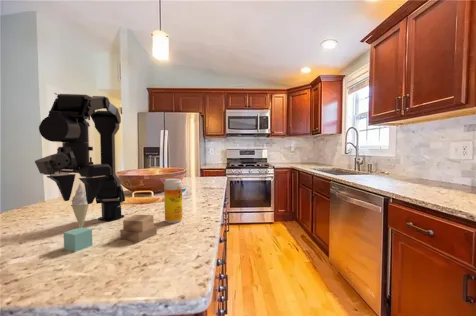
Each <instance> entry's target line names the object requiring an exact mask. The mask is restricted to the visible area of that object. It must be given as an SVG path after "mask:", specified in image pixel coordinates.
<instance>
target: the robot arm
mask: <svg viewBox="0 0 476 316" xmlns="http://www.w3.org/2000/svg"><path fill="white" fill-rule="evenodd" d="M56 97H57V98H55V100H54V101H53V104H52V106H51V108H50V110H48V115H47V116H46V117H45V118H43V119H42V120H41V121H40V123H39V126H38V130H39V134H40V135H41V137H42V138H43V139H45V140H46V141H48V142H53V143H55V142H56V143H61V144H62V146H58V147H57V152H56V153H54V154H49V155H47V156H44V157H42V158H39V159H35V160H34V164H35V165H36V167H37V170H38V171H39V174H41V175H45V176H46V178H47V179H50V180H52V181H54V182H55V184H56V186H57V187H58V190H59V192H60V194H61V197H62V199H63V201H64V202H68V201H70V199H71V196H72V192H73V187H74V183H75V179H76V174H79V176H80V177H79V178H78V179H79V180H80V182H82V183H83V184H84V190H85V194H86V199H87V204H89V205H91V204H93V203H94V201H95V202H96V204H101V206H100V207H101V216H100V217H97V219H98V220H99V221H106V222H111V221H115V220H118V219H121V218H124V217H125V215H124V214H122V202H125V201H126V193H125V191H124V188H123V187H122V184H121V180H120V178H119V177H118V176H117V174H116V138H115V137H116V134H117V133H118V131H119V130H120V124H121V122H122V119H121V118H122V117H121V114H120V111H119V109H118V107H117V106H115V105H114V104H113V103H112V102H110V100H109V98H108V97H107V96H105V95H103V96H102V95H92V96H90V95H87V94H75V93H73V94H72V93H58V94H57V95H56ZM102 109H103V110H102ZM105 109H106V110H105ZM89 117H90V118H91V120H92V122H93V123H94V124H93V125H94V128H95V129H96V131H97V133H98V134H99V137H100V138H99V141H100V145H99V146H100V163H94V162H93V161H90V151H94V147H93V146H90V143H89V141H90V140H89V138H90V137H89V128H90V127H91V125H90V123H89V122H88V121H87V120H88V119H89Z"/></svg>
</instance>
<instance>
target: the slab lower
mask: <svg viewBox="0 0 476 316" xmlns="http://www.w3.org/2000/svg"><path fill="white" fill-rule="evenodd" d="M157 229H158V228H157V225H156V224H154V225H153V226H151V227H149V228H148V229H146V230H145V231H143V232H138V231H123V228H122V229H120V230H119V232H120V236H119V237H120V240H124V241H129V242H135V243H141V242H143V241H145V240H148V239H149V238H152V237H153V236H156V235H157V234H158V233H157Z"/></svg>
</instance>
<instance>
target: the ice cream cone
mask: <svg viewBox="0 0 476 316" xmlns="http://www.w3.org/2000/svg"><path fill="white" fill-rule="evenodd" d="M71 203H72V204H70V206H71V207H72V210H73V213H74V216H75V219H76V221H77V224H78V226H79V227H78V228H80V227H82V228H84V223H85V220H86V216H87V213H88V209H89V206H90V204H87V199H86V192H85V188H84V187H83V186H82V183H79V184H78V187H77V189H76V190H75V195H73V196H72V198H71Z"/></svg>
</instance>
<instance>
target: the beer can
mask: <svg viewBox="0 0 476 316" xmlns="http://www.w3.org/2000/svg"><path fill="white" fill-rule="evenodd" d="M163 187H164V189H163V190H164V191H163V192H164V198H163V199H164V221H166V223H168V224H177V223H180V222H181V221H182V220H183V181H182V180H181V178H177V177H176V178H174V177H173V178H165V180H164V182H163Z"/></svg>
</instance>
